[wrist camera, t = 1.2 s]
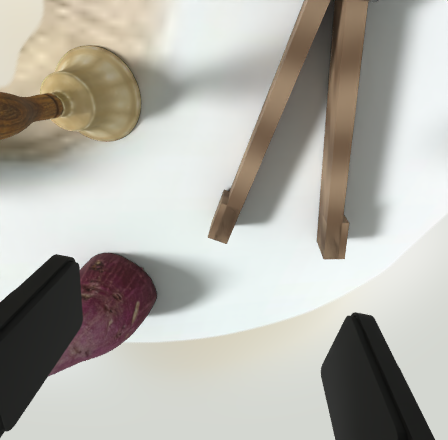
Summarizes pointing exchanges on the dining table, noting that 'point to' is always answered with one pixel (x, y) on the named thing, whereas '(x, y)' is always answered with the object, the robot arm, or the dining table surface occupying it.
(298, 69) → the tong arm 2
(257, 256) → the dining table surface
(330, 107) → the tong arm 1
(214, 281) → the dining table surface
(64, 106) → the hand bell
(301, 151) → the dining table surface
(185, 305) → the dining table surface
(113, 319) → the vegetable
